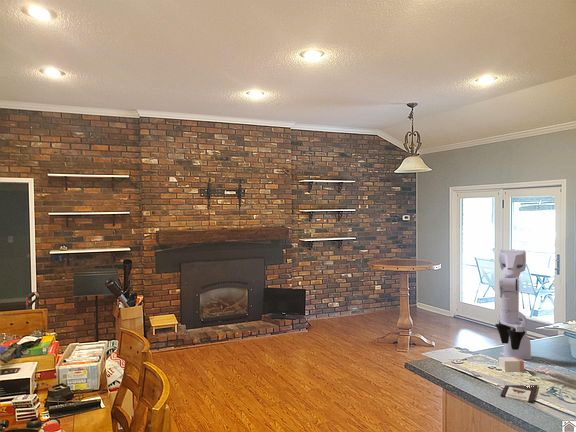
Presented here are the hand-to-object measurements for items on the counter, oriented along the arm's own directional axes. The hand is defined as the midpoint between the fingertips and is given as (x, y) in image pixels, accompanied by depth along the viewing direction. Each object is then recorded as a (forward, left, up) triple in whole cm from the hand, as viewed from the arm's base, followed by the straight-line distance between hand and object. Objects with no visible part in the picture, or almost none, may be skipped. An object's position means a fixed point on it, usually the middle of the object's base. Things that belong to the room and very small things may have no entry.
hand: (510, 346), depth 156 cm
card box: (0, 0, -9) cm, 9 cm away
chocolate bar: (+6, +17, -10) cm, 21 cm away
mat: (+5, -3, -9) cm, 11 cm away
